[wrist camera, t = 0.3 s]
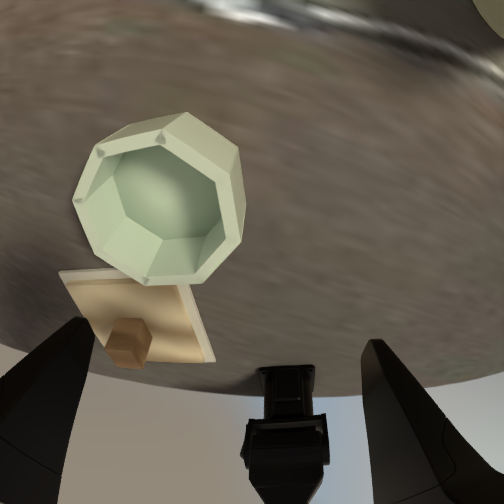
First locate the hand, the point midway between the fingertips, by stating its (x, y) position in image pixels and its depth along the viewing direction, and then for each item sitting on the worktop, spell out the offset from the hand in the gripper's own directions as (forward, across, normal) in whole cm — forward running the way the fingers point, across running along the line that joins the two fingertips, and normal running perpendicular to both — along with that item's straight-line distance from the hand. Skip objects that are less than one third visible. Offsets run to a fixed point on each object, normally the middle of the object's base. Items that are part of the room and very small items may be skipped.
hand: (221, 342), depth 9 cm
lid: (+14, +11, +16) cm, 24 cm away
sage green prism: (+14, +5, +1) cm, 15 cm away
